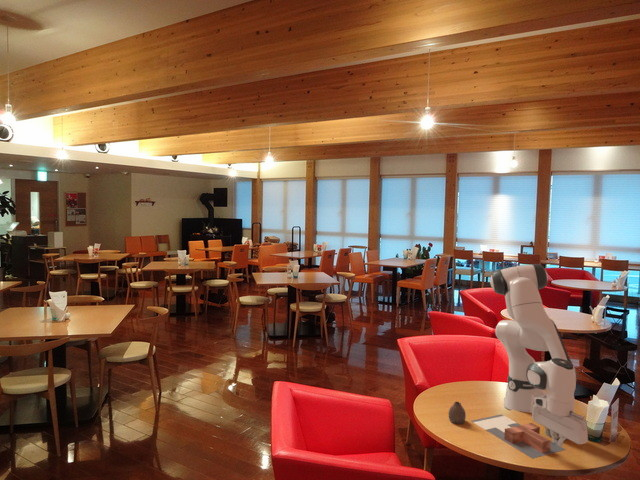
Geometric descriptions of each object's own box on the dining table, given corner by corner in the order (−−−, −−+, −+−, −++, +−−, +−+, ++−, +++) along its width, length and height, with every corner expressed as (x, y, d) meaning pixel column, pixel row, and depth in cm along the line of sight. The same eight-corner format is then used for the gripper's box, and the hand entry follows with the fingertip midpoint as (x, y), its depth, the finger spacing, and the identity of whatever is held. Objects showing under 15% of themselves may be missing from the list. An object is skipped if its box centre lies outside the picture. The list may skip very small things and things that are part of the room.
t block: (530, 432, 182) (531, 422, 182) (559, 448, 170) (560, 437, 170) (504, 438, 177) (504, 428, 176) (532, 455, 165) (532, 444, 164)
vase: (466, 427, 187) (467, 407, 187) (448, 426, 189) (449, 405, 188) (464, 420, 194) (465, 400, 193) (447, 418, 195) (448, 398, 195)
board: (501, 416, 198) (501, 414, 198) (565, 452, 170) (566, 449, 170) (470, 423, 192) (470, 420, 192) (532, 461, 163) (532, 458, 163)
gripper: (593, 417, 153) (591, 457, 153) (542, 394, 172) (540, 430, 172) (580, 419, 150) (577, 460, 151) (530, 396, 169) (528, 433, 170)
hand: (557, 444), depth 162 cm, fingers closed
